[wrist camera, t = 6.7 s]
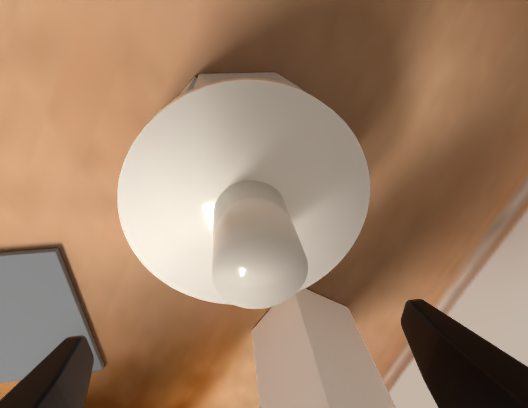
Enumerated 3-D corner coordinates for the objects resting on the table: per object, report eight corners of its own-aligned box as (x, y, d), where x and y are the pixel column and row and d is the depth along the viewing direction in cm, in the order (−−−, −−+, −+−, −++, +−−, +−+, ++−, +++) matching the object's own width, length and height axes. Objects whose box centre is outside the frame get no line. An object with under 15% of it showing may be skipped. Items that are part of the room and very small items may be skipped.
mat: (104, 366, 26) (102, 370, 26) (-29, 381, 25) (-32, 386, 24) (58, 247, 20) (55, 251, 20) (-117, 261, 19) (-124, 265, 19)
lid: (346, 281, 18) (388, 360, 14) (148, 300, 17) (124, 394, 12) (379, 74, 13) (463, 95, 8) (93, 81, 12) (19, 110, 7)
